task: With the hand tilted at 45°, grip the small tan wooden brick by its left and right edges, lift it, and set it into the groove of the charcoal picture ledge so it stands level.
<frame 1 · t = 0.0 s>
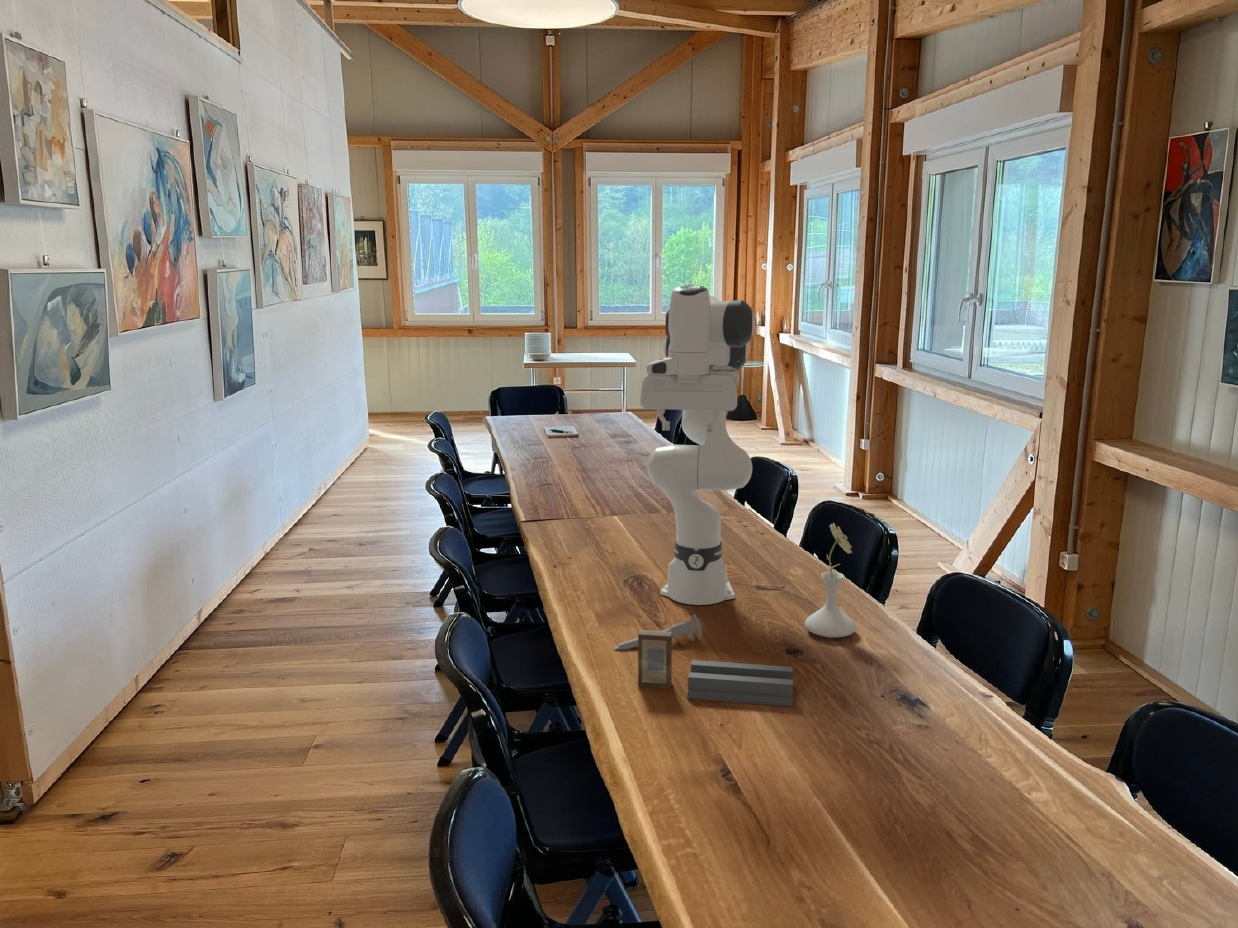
hand: (688, 430, 190), 48 cm above the table, tool pointing down, fingers open, 8 cm apart
flower in vase: (829, 631, 207), on the table
picture ledge: (740, 690, 177), on the table
caliper: (657, 646, 200), on the table
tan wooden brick: (654, 684, 180), on the table
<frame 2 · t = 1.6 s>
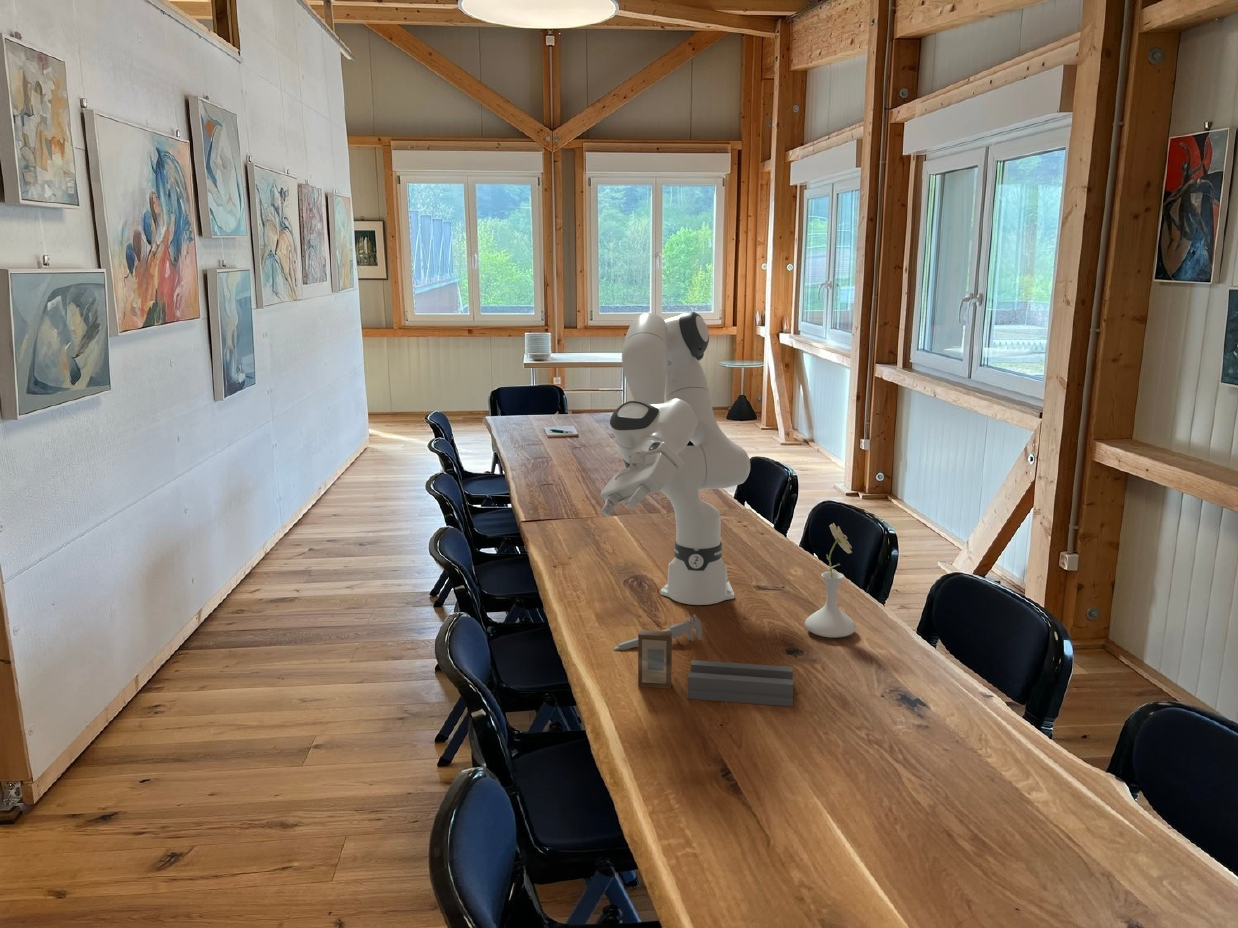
hand: (617, 510, 180), 34 cm above the table, tool tilted 55°, fingers open, 8 cm apart
nothing on the table moved.
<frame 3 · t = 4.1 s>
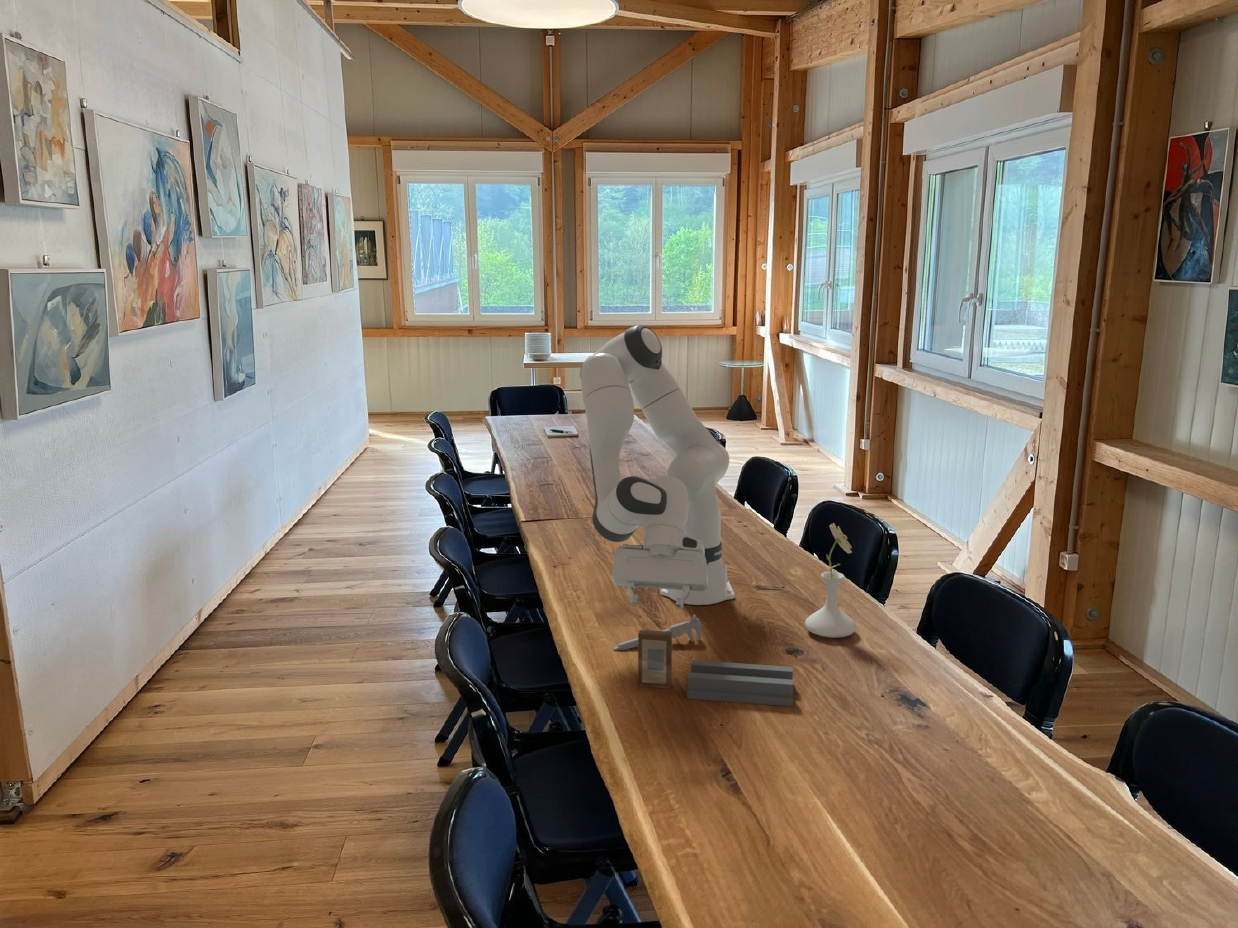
hand: (656, 605, 186), 13 cm above the table, tool tilted 45°, fingers open, 8 cm apart
nothing on the table moved.
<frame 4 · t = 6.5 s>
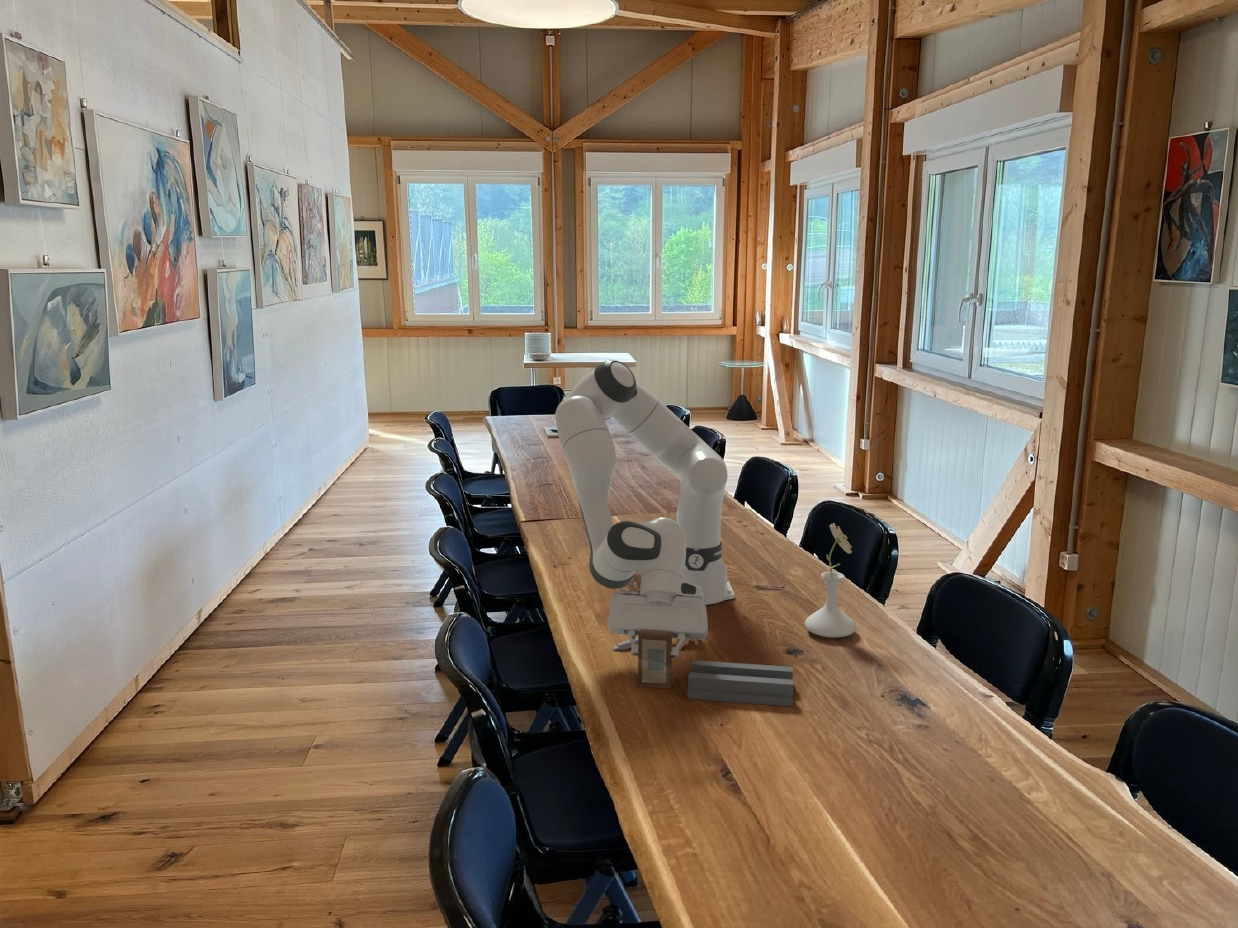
hand: (654, 655, 178), 6 cm above the table, tool tilted 45°, fingers closed on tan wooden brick, 6 cm apart
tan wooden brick: (654, 684, 180), on the table, touching gripper
everything else where it was.
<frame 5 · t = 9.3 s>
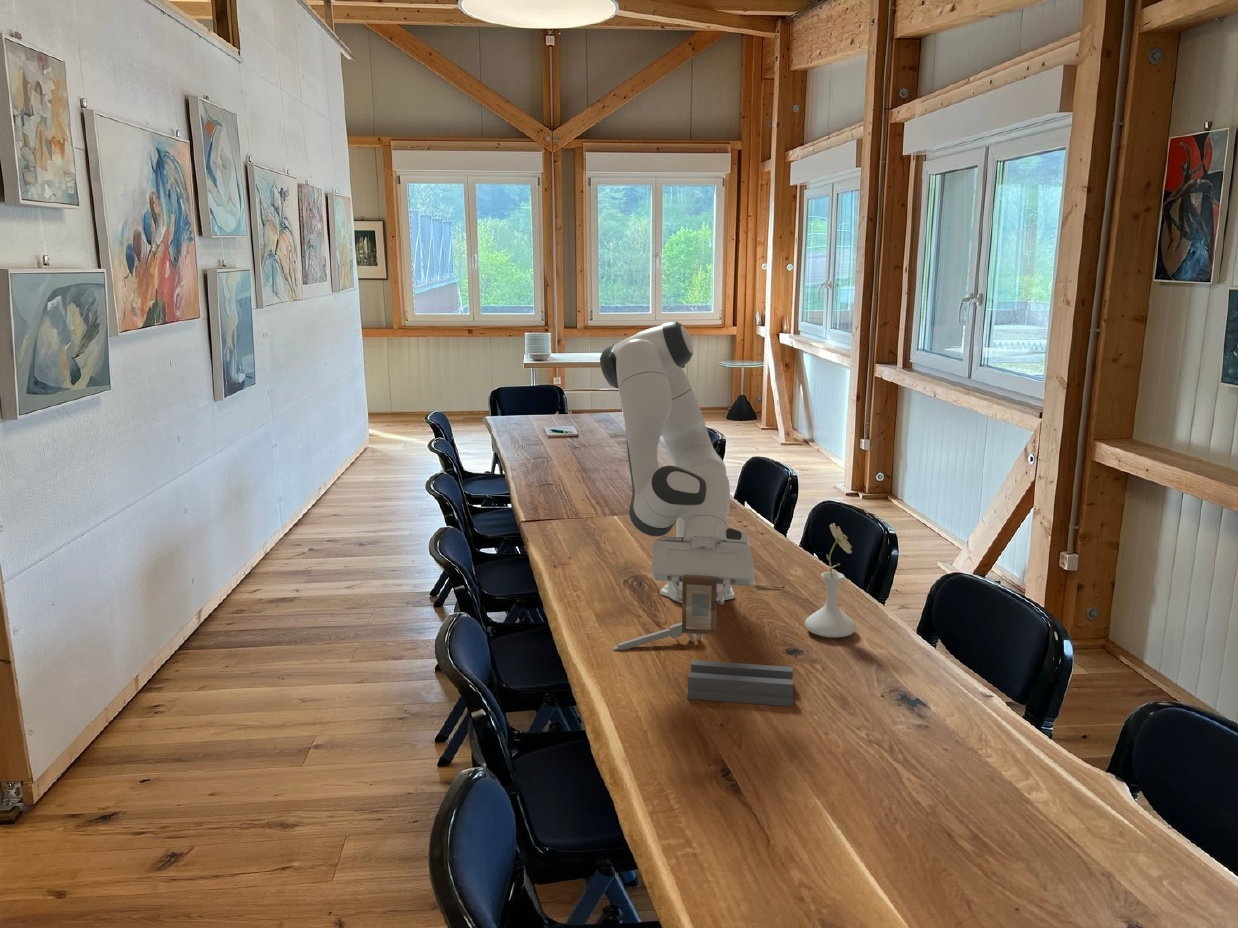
hand: (699, 601, 174), 18 cm above the table, tool tilted 45°, fingers closed on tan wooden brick, 6 cm apart
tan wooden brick: (699, 631, 176), point 12 cm above the table, touching gripper
everything else where it was.
when the fingers open (10 cm above the table, at t = 12.4 s): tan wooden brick drops 2 cm, resting on picture ledge.
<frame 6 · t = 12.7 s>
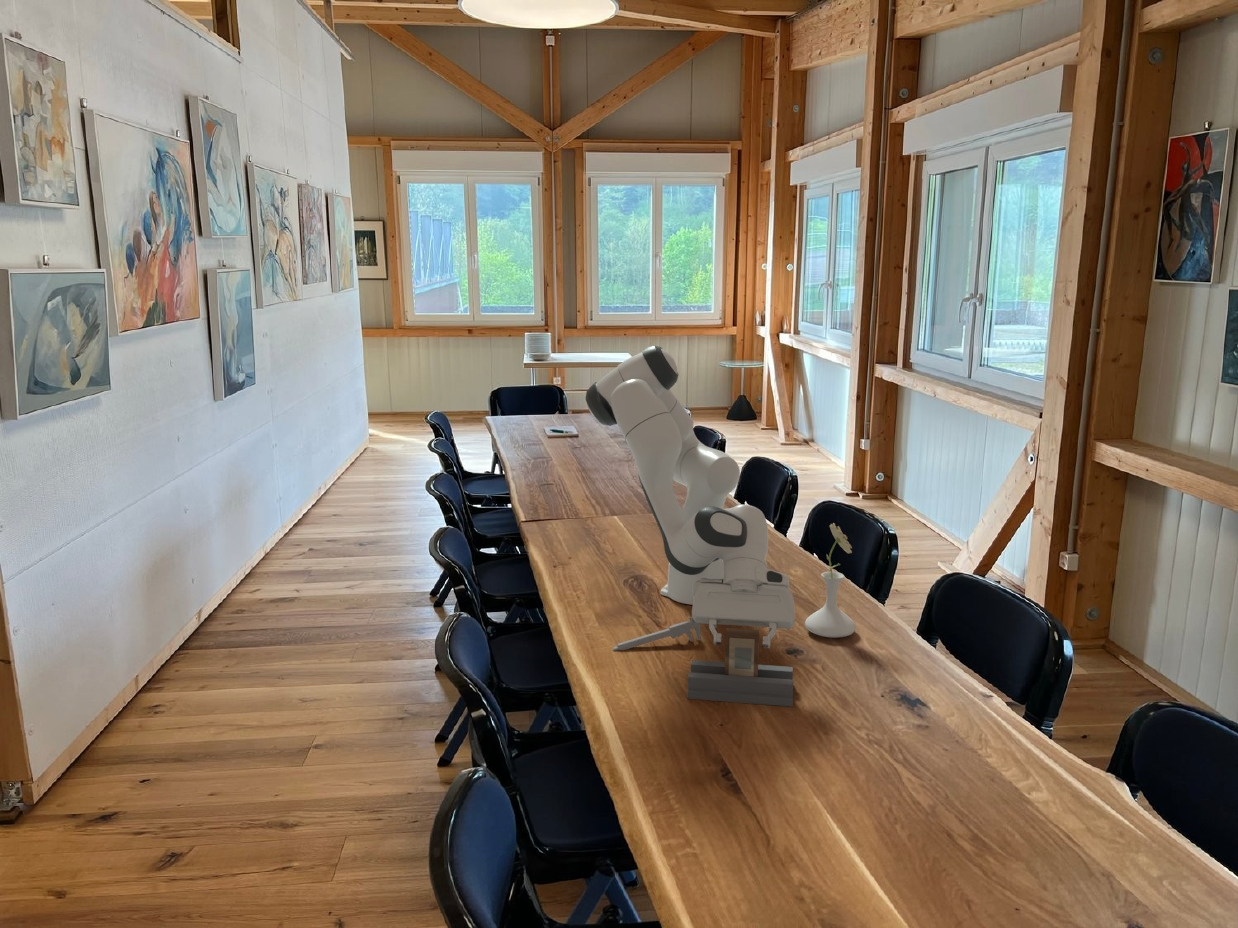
hand: (741, 645, 175), 10 cm above the table, tool tilted 45°, fingers open, 8 cm apart
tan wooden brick: (741, 683, 177), point 1 cm above the table, touching picture ledge
everything else where it was.
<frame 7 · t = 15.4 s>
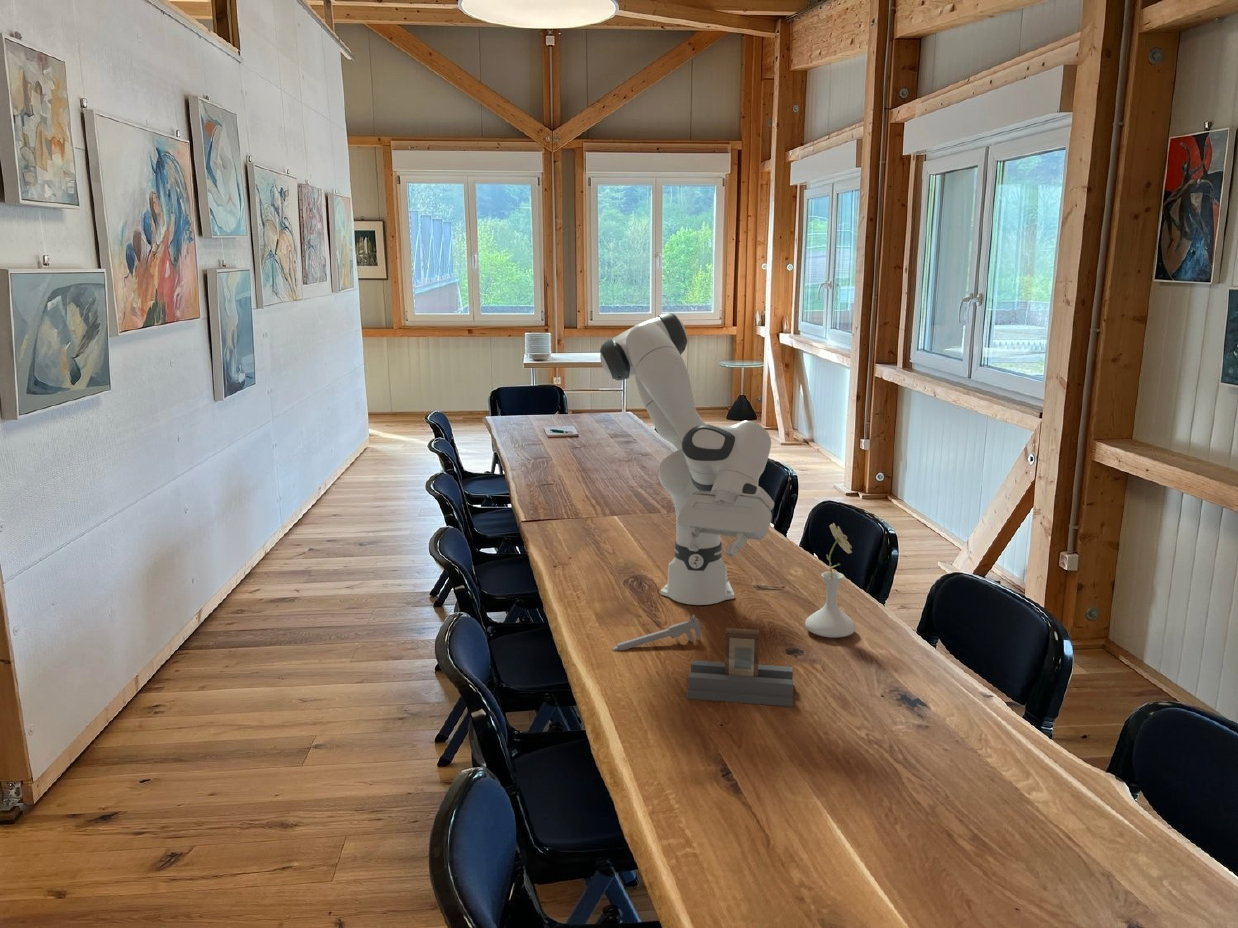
hand: (710, 552, 182), 25 cm above the table, tool tilted 40°, fingers open, 8 cm apart
nothing on the table moved.
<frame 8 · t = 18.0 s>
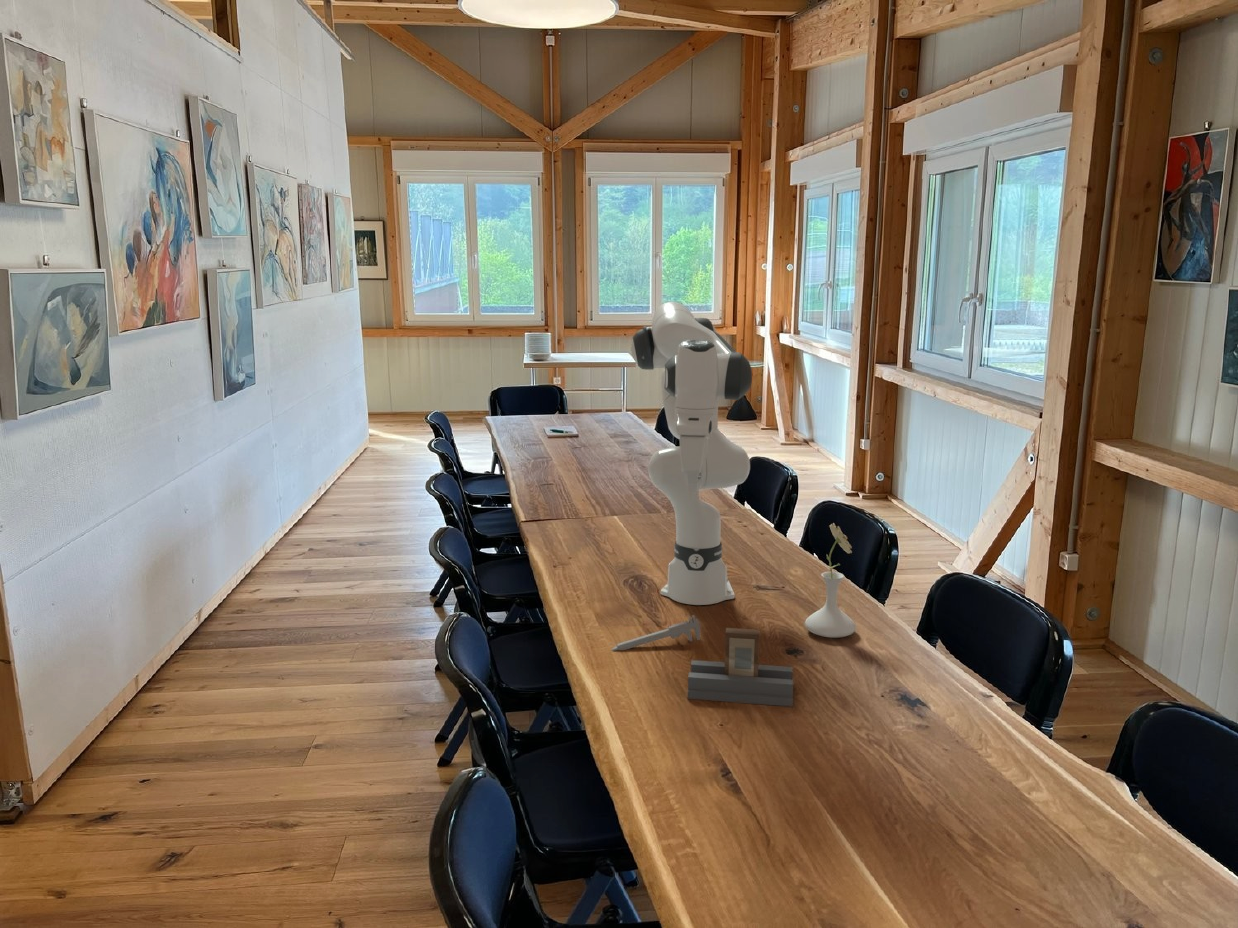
hand: (695, 485, 188), 37 cm above the table, tool pointing down, fingers open, 8 cm apart
nothing on the table moved.
at the end: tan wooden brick inside the target area on the picture ledge (0.1 cm from its centre), point 1.5 cm above the picture ledge's base; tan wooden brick tilted 0°; the gripper is holding nothing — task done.
